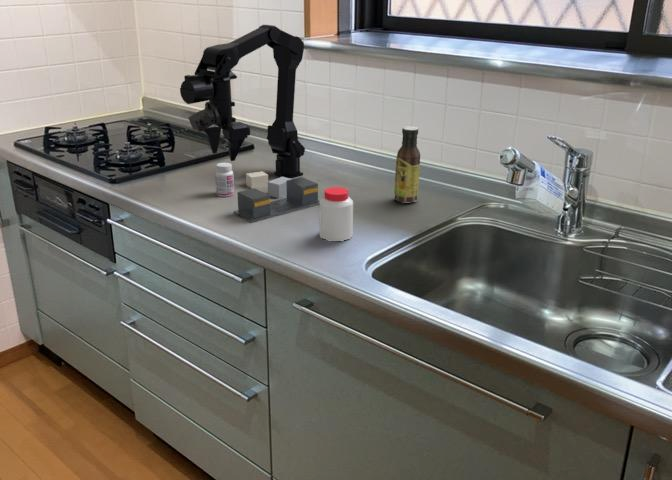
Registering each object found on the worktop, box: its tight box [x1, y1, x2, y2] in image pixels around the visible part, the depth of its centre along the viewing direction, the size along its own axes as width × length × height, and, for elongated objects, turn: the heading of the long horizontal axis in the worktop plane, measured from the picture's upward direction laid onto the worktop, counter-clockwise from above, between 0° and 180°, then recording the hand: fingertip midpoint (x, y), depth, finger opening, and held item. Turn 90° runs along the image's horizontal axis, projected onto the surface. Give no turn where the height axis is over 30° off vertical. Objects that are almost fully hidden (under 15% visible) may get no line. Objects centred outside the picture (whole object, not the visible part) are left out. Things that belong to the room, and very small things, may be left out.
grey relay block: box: [267, 176, 292, 199], centre depth 183 cm, size 6×4×4 cm, turn 144°
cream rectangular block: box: [245, 170, 269, 189], centre depth 190 cm, size 5×4×4 cm
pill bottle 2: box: [319, 186, 354, 241], centre depth 155 cm, size 8×8×11 cm
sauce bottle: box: [393, 125, 421, 203], centre depth 176 cm, size 6×6×20 cm
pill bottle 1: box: [215, 162, 235, 198], centre depth 182 cm, size 5×5×8 cm
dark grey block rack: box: [233, 176, 321, 224], centre depth 172 cm, size 22×8×6 cm, turn 130°
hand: (223, 156), depth 179 cm, fingers open, 9 cm apart
